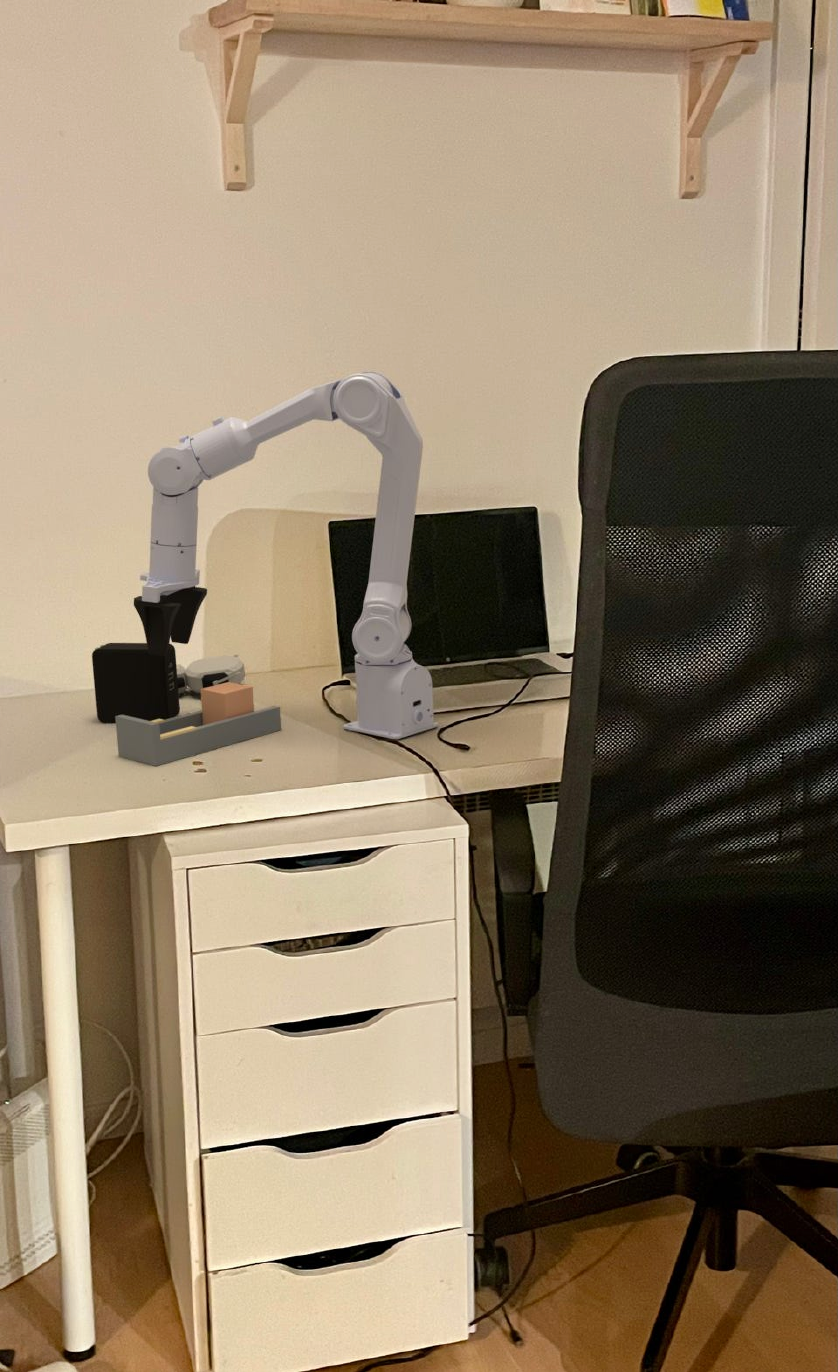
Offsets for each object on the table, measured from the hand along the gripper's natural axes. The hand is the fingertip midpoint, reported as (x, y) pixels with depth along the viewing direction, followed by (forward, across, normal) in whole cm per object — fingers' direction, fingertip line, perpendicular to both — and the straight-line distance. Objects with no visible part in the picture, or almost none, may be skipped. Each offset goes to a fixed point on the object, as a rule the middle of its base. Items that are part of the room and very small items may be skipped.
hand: (169, 648), depth 192 cm
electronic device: (+12, -4, -5) cm, 13 cm away
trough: (+10, +6, +7) cm, 13 cm away
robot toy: (+11, -19, -4) cm, 23 cm away
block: (+8, +2, +9) cm, 13 cm away
